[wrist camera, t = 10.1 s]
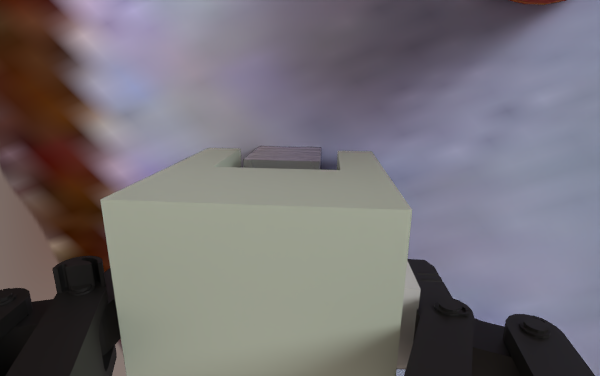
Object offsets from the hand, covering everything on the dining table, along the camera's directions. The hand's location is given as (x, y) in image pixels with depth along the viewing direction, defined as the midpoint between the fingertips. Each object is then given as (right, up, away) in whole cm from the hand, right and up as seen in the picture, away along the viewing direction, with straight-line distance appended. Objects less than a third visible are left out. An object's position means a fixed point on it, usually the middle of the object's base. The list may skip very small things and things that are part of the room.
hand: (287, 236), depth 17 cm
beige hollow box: (0, 0, 0) cm, 0 cm away
